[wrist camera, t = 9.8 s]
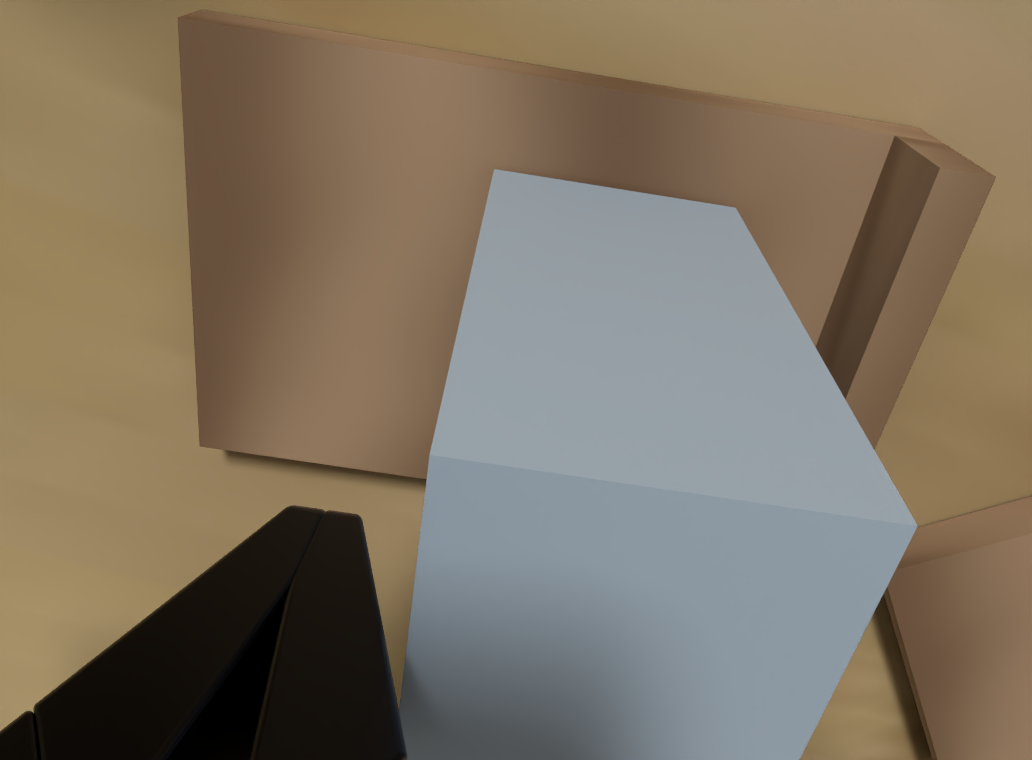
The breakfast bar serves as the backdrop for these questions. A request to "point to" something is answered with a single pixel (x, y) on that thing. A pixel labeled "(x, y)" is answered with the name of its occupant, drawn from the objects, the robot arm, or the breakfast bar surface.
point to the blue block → (637, 496)
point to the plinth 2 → (969, 631)
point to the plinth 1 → (460, 209)
